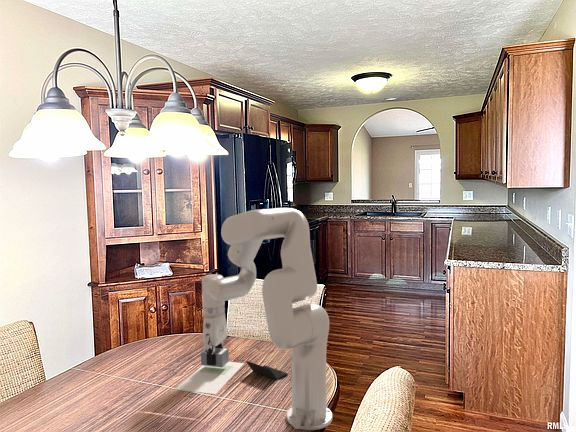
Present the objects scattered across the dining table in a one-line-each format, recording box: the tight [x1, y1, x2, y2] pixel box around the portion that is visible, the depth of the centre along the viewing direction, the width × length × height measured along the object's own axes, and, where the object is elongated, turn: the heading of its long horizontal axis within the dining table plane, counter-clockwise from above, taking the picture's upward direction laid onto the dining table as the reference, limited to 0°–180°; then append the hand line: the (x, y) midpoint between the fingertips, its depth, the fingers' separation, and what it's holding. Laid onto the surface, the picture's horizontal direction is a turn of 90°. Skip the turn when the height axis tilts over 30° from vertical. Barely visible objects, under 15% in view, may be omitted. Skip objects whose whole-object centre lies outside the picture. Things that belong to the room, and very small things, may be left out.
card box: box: [200, 346, 230, 367], centre depth 151 cm, size 8×6×4 cm
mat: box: [175, 361, 245, 395], centre depth 147 cm, size 24×14×1 cm, turn 164°
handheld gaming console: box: [245, 360, 288, 381], centre depth 146 cm, size 12×7×10 cm
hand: (215, 360), depth 152 cm, fingers closed on card box, 5 cm apart
